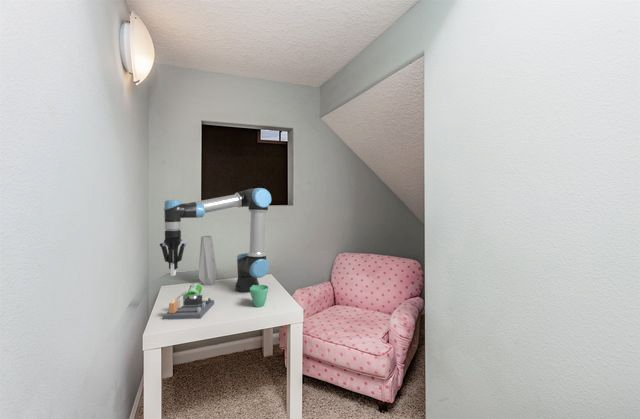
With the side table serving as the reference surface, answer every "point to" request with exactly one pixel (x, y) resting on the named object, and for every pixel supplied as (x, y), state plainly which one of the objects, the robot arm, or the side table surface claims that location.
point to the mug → (259, 294)
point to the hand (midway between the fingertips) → (173, 275)
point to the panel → (191, 309)
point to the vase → (207, 261)
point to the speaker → (194, 289)
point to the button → (193, 296)
